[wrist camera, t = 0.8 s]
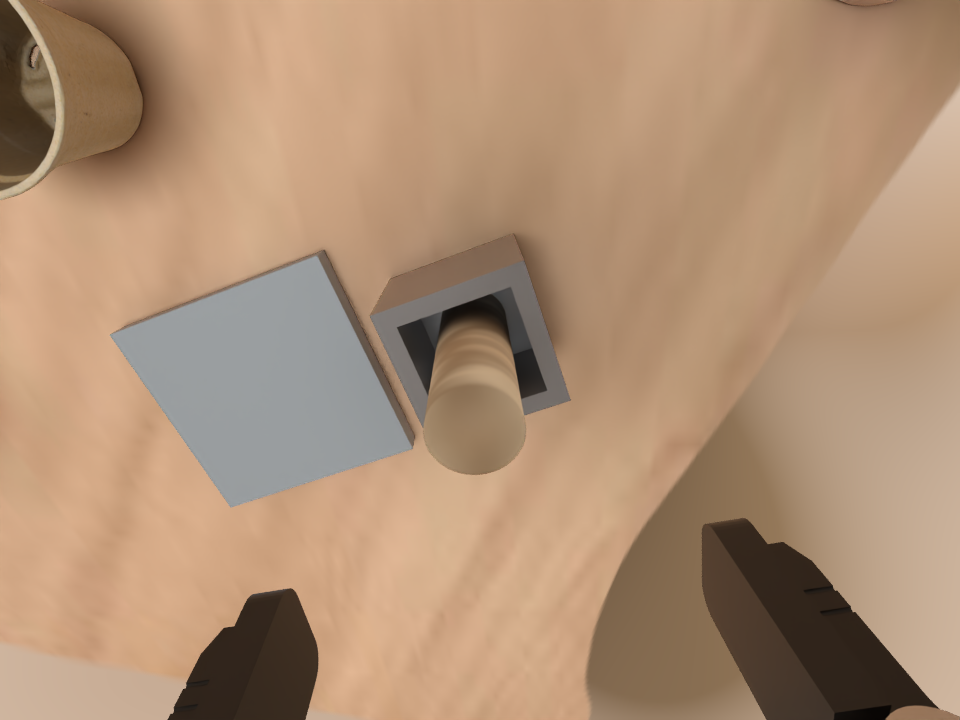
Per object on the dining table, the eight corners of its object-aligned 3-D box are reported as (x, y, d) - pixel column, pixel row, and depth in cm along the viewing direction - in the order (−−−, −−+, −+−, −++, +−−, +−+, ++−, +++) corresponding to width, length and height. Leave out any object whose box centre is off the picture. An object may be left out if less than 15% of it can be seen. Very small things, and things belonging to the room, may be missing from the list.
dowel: (493, 280, 31) (506, 372, 19) (514, 338, 33) (539, 457, 21) (431, 302, 32) (406, 405, 20) (455, 358, 33) (445, 486, 21)
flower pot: (176, 200, 30) (71, 225, 22) (2, 161, 29) (-173, 172, 21) (176, 12, 26) (50, -39, 19) (-23, -40, 25) (-247, -117, 18)
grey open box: (513, 233, 31) (524, 260, 25) (552, 349, 34) (570, 400, 28) (390, 278, 32) (369, 316, 26) (438, 387, 35) (431, 445, 29)
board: (323, 250, 31) (317, 255, 30) (414, 436, 37) (412, 448, 35) (124, 326, 33) (109, 334, 32) (239, 494, 38) (230, 507, 37)
